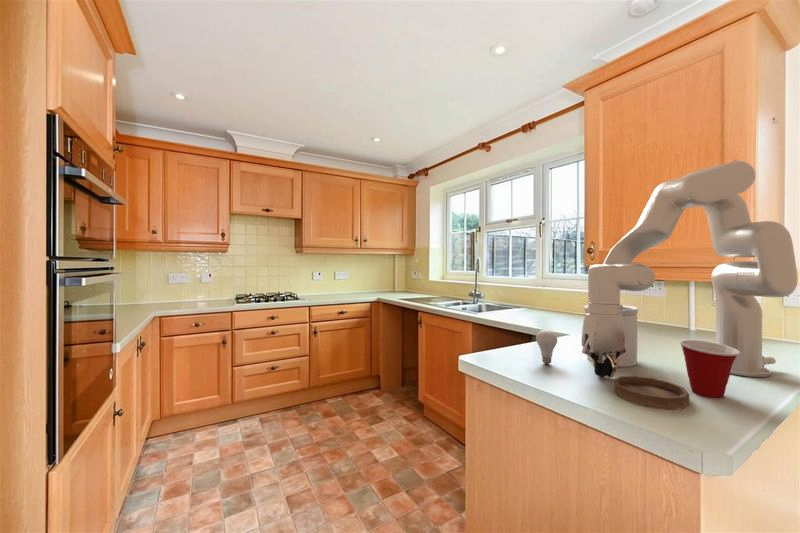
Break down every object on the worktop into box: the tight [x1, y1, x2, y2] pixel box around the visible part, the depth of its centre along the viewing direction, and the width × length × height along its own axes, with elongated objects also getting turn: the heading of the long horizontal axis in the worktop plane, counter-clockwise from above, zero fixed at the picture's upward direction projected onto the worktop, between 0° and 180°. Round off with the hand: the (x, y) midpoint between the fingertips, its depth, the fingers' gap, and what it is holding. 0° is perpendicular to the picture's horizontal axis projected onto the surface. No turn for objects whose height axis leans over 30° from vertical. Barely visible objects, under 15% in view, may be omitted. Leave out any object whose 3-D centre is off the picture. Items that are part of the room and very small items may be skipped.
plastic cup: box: [679, 339, 740, 399], centre depth 82 cm, size 11×11×12 cm
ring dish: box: [613, 375, 690, 411], centre depth 81 cm, size 14×14×2 cm
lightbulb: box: [535, 329, 558, 365], centre depth 107 cm, size 6×6×11 cm
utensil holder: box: [583, 304, 639, 368], centre depth 110 cm, size 15×15×18 cm
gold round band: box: [591, 351, 617, 379], centre depth 94 cm, size 7×3×8 cm, turn 9°
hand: (604, 375), depth 94 cm, fingers closed on gold round band
